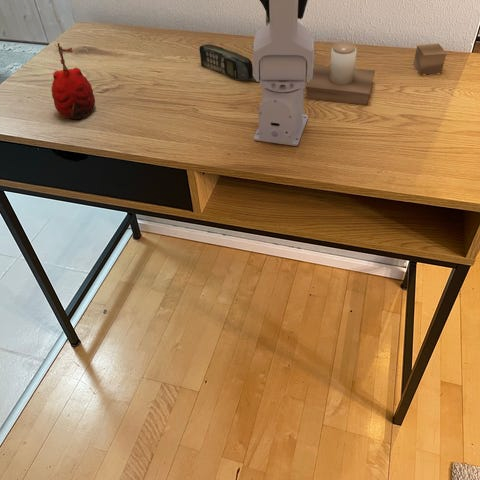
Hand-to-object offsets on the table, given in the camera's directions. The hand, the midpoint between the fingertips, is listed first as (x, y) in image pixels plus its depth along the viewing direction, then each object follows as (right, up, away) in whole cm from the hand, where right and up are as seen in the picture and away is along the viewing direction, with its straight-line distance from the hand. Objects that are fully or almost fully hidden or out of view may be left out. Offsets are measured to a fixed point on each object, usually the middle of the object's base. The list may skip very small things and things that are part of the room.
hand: (287, 24), depth 99 cm
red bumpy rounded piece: (-41, -17, 0) cm, 44 cm away
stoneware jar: (+10, -11, -1) cm, 15 cm away
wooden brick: (+11, -12, +1) cm, 16 cm away
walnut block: (+29, -7, +5) cm, 31 cm away
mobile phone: (-11, -7, +8) cm, 16 cm away
